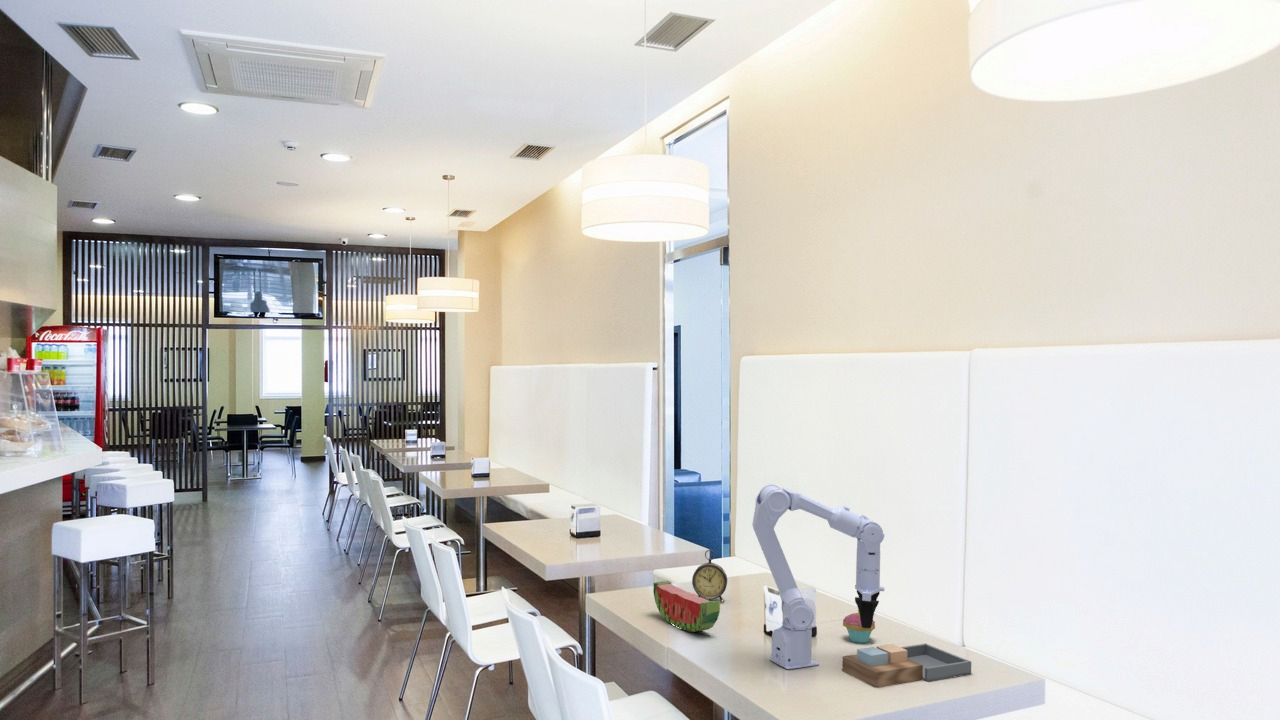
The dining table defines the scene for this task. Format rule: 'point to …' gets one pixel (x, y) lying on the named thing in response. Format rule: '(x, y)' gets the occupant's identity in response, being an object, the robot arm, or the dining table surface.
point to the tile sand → (894, 653)
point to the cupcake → (857, 628)
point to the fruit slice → (685, 607)
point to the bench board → (883, 671)
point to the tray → (937, 662)
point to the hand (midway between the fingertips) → (866, 623)
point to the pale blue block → (872, 656)
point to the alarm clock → (709, 580)
